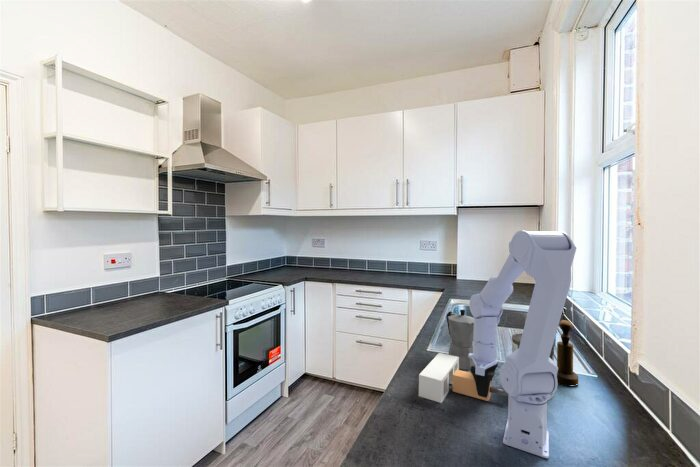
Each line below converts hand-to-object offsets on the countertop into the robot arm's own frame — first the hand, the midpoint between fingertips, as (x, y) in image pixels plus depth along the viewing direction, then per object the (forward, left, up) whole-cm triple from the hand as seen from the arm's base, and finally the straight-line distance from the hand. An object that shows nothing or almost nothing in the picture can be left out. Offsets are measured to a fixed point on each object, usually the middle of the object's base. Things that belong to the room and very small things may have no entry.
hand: (484, 392), depth 82 cm
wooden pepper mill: (+23, -18, -2) cm, 29 cm away
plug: (0, +1, -1) cm, 2 cm away
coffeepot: (+19, +11, -2) cm, 22 cm away
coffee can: (+12, -10, -2) cm, 16 cm away
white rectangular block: (0, +12, -1) cm, 12 cm away
